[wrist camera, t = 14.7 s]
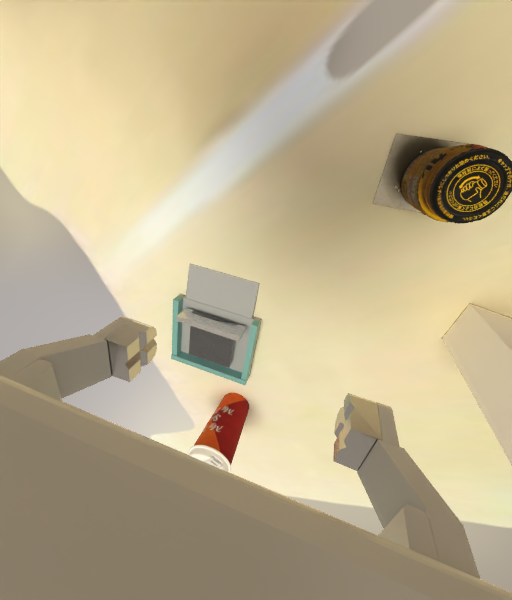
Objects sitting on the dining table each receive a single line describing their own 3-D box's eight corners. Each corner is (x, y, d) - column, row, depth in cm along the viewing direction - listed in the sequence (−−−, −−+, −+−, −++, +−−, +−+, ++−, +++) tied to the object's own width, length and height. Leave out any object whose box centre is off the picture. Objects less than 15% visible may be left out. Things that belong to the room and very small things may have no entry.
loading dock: (184, 259, 45) (173, 266, 42) (270, 283, 42) (264, 292, 39) (181, 347, 54) (171, 358, 51) (250, 372, 52) (245, 385, 49)
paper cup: (231, 382, 53) (198, 446, 41) (261, 406, 54) (237, 476, 42) (212, 400, 57) (176, 462, 45) (240, 422, 58) (211, 490, 46)
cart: (187, 306, 47) (176, 316, 44) (247, 324, 45) (239, 336, 42) (185, 346, 51) (175, 357, 48) (239, 364, 49) (232, 378, 46)
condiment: (447, 217, 31) (497, 243, 21) (372, 203, 33) (383, 221, 23) (481, 145, 28) (561, 134, 17) (395, 133, 29) (422, 117, 19)
